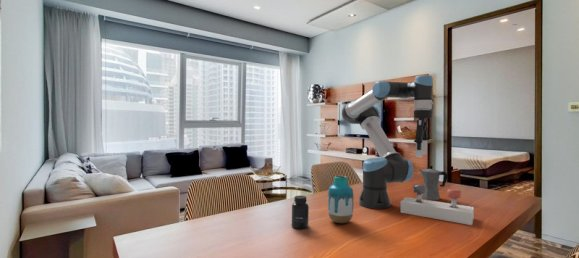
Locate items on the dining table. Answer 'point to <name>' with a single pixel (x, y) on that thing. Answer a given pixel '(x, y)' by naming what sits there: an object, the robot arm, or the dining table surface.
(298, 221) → the supplement bottle
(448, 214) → the block
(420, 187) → the plunger
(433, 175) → the coffeepot
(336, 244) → the dining table surface
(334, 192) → the vase
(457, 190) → the red plunger
